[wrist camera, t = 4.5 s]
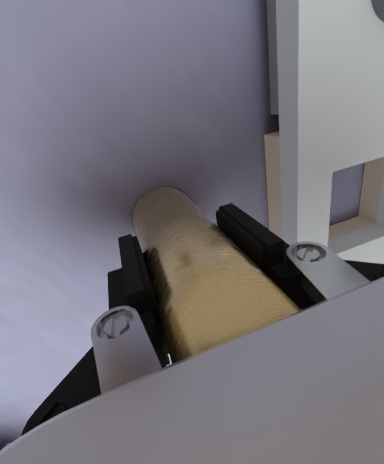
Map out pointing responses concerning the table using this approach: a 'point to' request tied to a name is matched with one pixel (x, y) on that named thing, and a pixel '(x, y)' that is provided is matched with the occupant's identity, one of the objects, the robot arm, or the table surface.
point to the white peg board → (326, 121)
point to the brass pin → (201, 276)
